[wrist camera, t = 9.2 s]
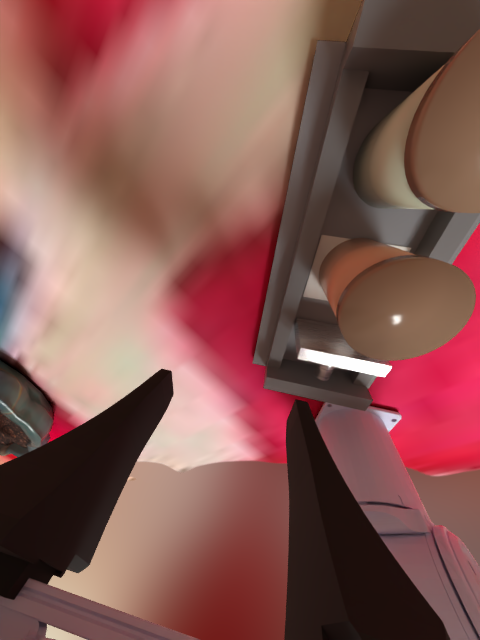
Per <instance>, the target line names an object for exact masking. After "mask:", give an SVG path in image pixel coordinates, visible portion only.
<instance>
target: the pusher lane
mask: <svg viewBox="0 0 480 640" xmlns="http://www.w3.org/2000/svg"><path fill="white" fill-rule="evenodd" d="M479 29H480V0H363V1H362V3H361V6H360V9H359V11H358V14H357V16H356V19H355V21H354V24H353V26H352V29H351V31H350V34H349V37H348V39H347V42H339V41H320V40H318V42H317V46H316V51H315V56H314V61H313V66H312V71H311V76H310V81H309V86H308V91H307V96H306V101H305V106H304V110H303V115H302V120H301V125H300V130H299V135H298V140H297V145H296V150H295V155H294V160H293V165H292V170H291V175H290V180H289V185H288V190H287V195H286V200H285V205H284V210H283V215H282V220H281V225H280V230H279V235H278V240H277V245H276V250H275V255H274V260H273V264H272V269H271V274H270V279H269V284H268V289H267V294H266V299H265V304H264V309H263V314H262V319H261V324H260V329H259V334H258V339H257V344H256V349H255V354H254V359H253V364H258V365H263V366H266V367H265V377H264V387H263V388H265V389H269V390H274V391H278V392H283V393H287V394H291V395H296V396H300V397H305V398H309V399H313V400H318V401H322V402H327V403H331V404H335V405H340V406H344V407H349V408H353V409H358V410H362V411H366V410H367V408H368V407H369V405H370V404H371V403H372V401H373V399H372V397H371V395H370V393H369V391H368V389H367V388H369V387H370V386H371V384H372V383H373V381H374V380H375V378H376V377H377V375H372V374H367V373H362V372H358V371H353V370H348V369H343V368H338V367H335V368H334V370H333V372H332V374H331V376H330V378H329V380H327V381H323V380H320V379H318V378H316V377H315V376H314V374H313V370H314V368H315V366H316V363H315V362H310V361H305V360H300V359H297V352H296V342H295V333H294V325H295V322H296V319H297V318H301V319H307V320H312V321H317V322H323V323H328V324H333V325H338V323H337V319H336V316H335V314H334V312H333V310H332V308H331V306H330V304H329V302H328V300H327V298H326V296H325V294H324V292H323V290H322V288H321V285H320V282H319V270H320V266H321V264H322V261H323V260H324V258H325V257H326V255H327V254H328V253H329V252H330V251H331V250H332V249H333V248H334V247H336V246H337V245H339V244H340V243H342V242H344V241H347V240H350V239H354V238H369V239H373V240H376V241H378V242H381V243H384V244H387V245H390V246H392V247H395V248H398V249H401V250H404V251H406V252H409V253H412V254H415V255H421V256H427V257H431V258H434V259H437V260H440V261H443V262H446V263H449V264H451V265H452V263H453V262H454V260H455V259H456V257H457V256H458V254H459V253H460V251H461V250H462V248H463V247H464V245H465V244H466V242H467V241H468V239H469V238H470V236H471V235H472V233H473V232H474V230H475V229H476V227H477V226H478V224H479V223H480V213H453V212H443V211H438V210H435V209H379V208H374V207H372V206H369V205H367V204H366V203H364V202H363V201H362V200H361V199H360V197H359V196H358V194H357V193H356V190H355V187H354V183H353V168H354V163H355V159H356V156H357V153H358V151H359V149H360V147H361V145H362V143H363V141H364V140H365V138H366V136H367V135H368V134H369V132H370V131H371V130H372V129H373V128H374V127H375V125H376V124H378V123H379V122H380V121H381V120H382V119H383V118H384V117H385V116H386V115H388V114H389V113H390V112H391V111H392V110H393V109H394V108H396V107H397V106H398V105H399V104H400V103H401V102H402V101H404V100H405V99H406V98H407V97H408V96H409V95H410V94H412V93H413V92H414V91H415V90H416V89H417V88H418V87H420V86H421V85H422V84H423V83H424V82H425V81H426V80H428V79H429V78H430V77H431V76H432V75H433V74H434V73H436V72H437V71H438V70H439V69H440V68H441V67H442V66H444V65H445V64H446V63H447V61H448V60H449V59H450V58H451V57H452V56H453V54H454V53H455V52H456V51H457V50H458V49H459V48H460V47H461V46H462V45H463V44H464V43H465V42H466V41H467V40H468V39H469V38H470V37H471V36H472V35H473V34H475V33H476V32H477V31H478V30H479Z"/></svg>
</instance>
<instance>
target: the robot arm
mask: <svg viewBox="0 0 480 640" xmlns="http://www.w3.org/2000/svg"><path fill="white" fill-rule="evenodd" d="M172 397H173V382H172V371H169V370H165V369H161V370H159V371H158V372H157V373H155V374H154V375H153V376H152V377H150V378H149V379H148V380H147V381H145V382H144V383H143V384H141V385H140V386H139V387H137V388H136V389H135V390H133V391H132V392H131V393H129V394H128V395H127V396H125V397H124V398H122V399H121V400H120V401H118V402H117V403H115V404H114V405H112V406H111V407H109V408H108V409H106V410H105V411H103V412H102V413H100V414H99V415H97V416H95V417H94V418H92V419H90V420H89V421H87V422H86V423H84V424H82V425H80V426H79V427H77V428H75V429H73V430H71V431H70V432H68V433H66V434H64V435H62V436H60V437H59V438H57V439H55V440H53V441H51V442H49V443H47V444H45V445H43V446H41V447H39V448H36V449H34V450H32V451H30V452H28V453H26V454H24V455H22V456H20V457H18V458H15V459H13V460H11V461H8V462H6V463H4V464H2V465H0V640H55V639H49V638H46V637H45V635H46V630H47V624H48V625H51V626H54V627H56V628H59V629H62V630H64V631H66V632H69V633H72V634H74V635H77V636H79V637H82V638H85V639H87V640H199V639H196V638H193V637H191V636H188V635H185V634H182V633H180V632H177V631H174V630H171V629H169V628H166V627H163V626H160V625H158V624H155V623H152V622H149V621H146V620H143V619H141V618H138V617H135V616H133V615H130V614H127V613H124V612H122V611H119V610H116V609H113V608H111V607H108V606H105V605H102V604H99V603H97V602H94V601H91V600H89V599H86V598H83V597H80V596H78V595H75V594H72V593H69V592H66V591H64V590H61V589H58V588H55V587H53V586H50V585H47V584H48V582H49V581H50V579H51V577H52V576H53V575H55V576H57V577H60V578H61V577H62V576H63V574H64V573H65V571H66V570H70V571H73V572H76V573H79V572H81V571H82V570H84V569H85V568H86V567H88V566H89V565H90V562H91V560H92V557H93V555H94V553H95V550H96V548H97V546H98V543H99V541H100V539H101V536H102V534H103V532H104V529H105V527H106V525H107V523H108V520H109V518H110V516H111V514H112V511H113V509H114V507H115V505H116V503H117V500H118V498H119V496H120V494H121V492H122V490H123V488H124V486H125V484H126V481H127V479H128V477H129V475H130V473H131V471H132V469H133V467H134V465H135V463H136V461H137V459H138V457H139V456H140V454H141V452H142V450H143V448H144V447H145V445H146V443H147V442H148V440H149V439H150V437H151V435H152V434H153V432H154V430H155V429H156V427H157V425H158V424H159V422H160V420H161V419H162V417H163V415H164V413H165V412H166V410H167V408H168V405H169V403H170V401H171V399H172ZM401 418H402V417H401V415H400V413H398V412H395V411H390V410H386V409H381V408H377V407H372V406H369V407H368V408H367V410H366V411H362V410H358V409H353V408H349V407H344V406H340V405H335V404H331V403H327V402H324V404H323V406H322V408H321V410H320V412H319V414H318V416H317V417H316V419H315V420H314V417H313V415H312V412H311V410H310V407H309V405H308V403H307V402H305V401H300V400H295V402H294V405H293V407H292V410H291V412H290V415H289V417H288V419H287V426H286V451H287V466H288V480H289V555H288V582H287V603H286V622H285V640H480V567H479V565H478V564H477V562H476V561H475V559H474V557H473V556H472V554H471V553H470V551H469V550H468V549H467V547H466V546H465V544H464V543H463V542H462V541H461V540H460V539H459V538H458V537H457V536H456V535H454V534H453V533H451V532H450V531H449V530H448V529H447V528H445V527H444V526H442V525H436V526H435V525H434V523H433V522H432V521H431V520H430V518H429V516H428V514H427V512H426V510H425V508H424V506H423V503H422V501H421V499H420V497H419V495H418V493H417V491H416V489H415V487H414V484H413V482H412V480H411V478H410V476H409V474H408V472H407V470H406V468H405V466H404V464H403V461H402V459H401V457H400V455H399V453H398V451H397V449H396V447H395V445H394V443H393V440H392V438H391V436H390V434H389V431H390V430H391V429H392V428H393V427H394V426H395V425H396V424H397V422H398V421H399V420H400V419H401Z"/></svg>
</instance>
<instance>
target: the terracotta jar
mask: <svg viewBox="0 0 480 640" xmlns="http://www.w3.org/2000/svg"><path fill="white" fill-rule="evenodd" d="M319 282H320V285H321V288H322V290H323V292H324V294H325V296H326V298H327V300H328V302H329V304H330V306H331V308H332V310H333V312H334V314H335V316H336V319H337V323H338V326H339V328H340V330H341V333H342V335H343V337H344V339H345V340H346V342H347V343H348V345H349V346H350V347H351V348H352V349H354V350H355V351H356V352H358V353H360V354H362V355H364V356H366V357H369V358H373V359H378V360H388V361H389V360H404V359H410V358H414V357H417V356H421V355H423V354H426V353H429V352H431V351H433V350H435V349H437V348H439V347H441V346H442V345H444V344H445V343H447V342H448V341H450V340H451V339H452V338H453V337H455V336H456V335H457V334H458V333H459V332H460V331H461V330H462V328H463V327H464V326H465V325H466V323H467V322H468V320H469V319H470V317H471V315H472V312H473V310H474V306H475V300H476V294H475V288H474V285H473V283H472V281H471V279H470V278H469V276H468V275H467V274H466V273H465V272H463V271H462V270H461V269H459V268H458V267H456V266H454V265H451V264H449V263H446V262H443V261H440V260H437V259H434V258H431V257H427V256H421V255H415V254H412V253H409V252H406V251H404V250H401V249H398V248H395V247H392V246H390V245H387V244H384V243H381V242H378V241H376V240H373V239H369V238H354V239H350V240H347V241H344V242H342V243H340V244H339V245H337V246H336V247H334V248H333V249H332V250H331V251H330V252H329V253H328V254H327V255H326V257H325V258H324V260H323V261H322V264H321V266H320V270H319Z"/></svg>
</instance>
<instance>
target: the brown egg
mask: <svg viewBox="0 0 480 640" xmlns="http://www.w3.org/2000/svg"><path fill="white" fill-rule="evenodd" d="M353 183H354V187H355V190H356V193H357V194H358V196H359V197H360V199H361V200H362V201H363V202H364V203H366V204H367V205H369V206H372V207H374V208H379V209H435V210H438V211H443V212H453V213H480V29H479V30H478V31H477V32H476V33H475V34H473V35H472V36H471V37H470V38H469V39H468V40H467V41H466V42H465V43H464V44H463V45H462V46H461V47H460V48H459V49H458V50H457V51H456V52H455V53H454V54H453V56H452V57H451V58H450V59H449V60H448V61H447V63H446V64H445V65H444V66H442V67H441V68H440V69H439V70H438V71H437V72H436V73H434V74H433V75H432V76H431V77H430V78H429V79H428V80H426V81H425V82H424V83H423V84H422V85H421V86H420V87H418V88H417V89H416V90H415V91H414V92H413V93H412V94H410V95H409V96H408V97H407V98H406V99H405V100H404V101H402V102H401V103H400V104H399V105H398V106H397V107H396V108H394V109H393V110H392V111H391V112H390V113H389V114H388V115H386V116H385V117H384V118H383V119H382V120H381V121H380V122H379V123H378V124H376V125H375V127H374V128H373V129H372V130H371V131H370V132H369V134H368V135H367V136H366V138H365V140H364V141H363V143H362V145H361V147H360V149H359V151H358V153H357V156H356V159H355V163H354V168H353Z"/></svg>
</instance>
